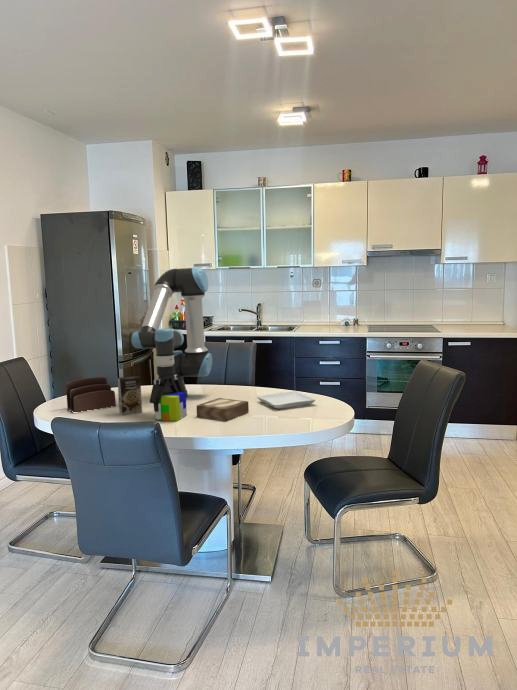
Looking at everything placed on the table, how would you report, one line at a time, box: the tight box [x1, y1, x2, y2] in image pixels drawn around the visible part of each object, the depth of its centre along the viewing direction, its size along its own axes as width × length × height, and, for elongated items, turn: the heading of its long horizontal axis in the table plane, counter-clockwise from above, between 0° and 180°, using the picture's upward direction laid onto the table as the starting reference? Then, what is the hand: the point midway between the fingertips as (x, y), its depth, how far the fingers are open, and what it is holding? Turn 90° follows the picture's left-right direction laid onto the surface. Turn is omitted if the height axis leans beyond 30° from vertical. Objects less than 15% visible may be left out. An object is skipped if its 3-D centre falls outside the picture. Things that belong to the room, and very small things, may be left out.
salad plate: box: [256, 390, 316, 410], centre depth 238 cm, size 21×21×3 cm
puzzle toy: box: [154, 392, 188, 422], centre depth 217 cm, size 10×10×10 cm
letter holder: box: [65, 376, 117, 413], centre depth 240 cm, size 10×20×14 cm, turn 128°
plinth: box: [196, 397, 250, 422], centre depth 221 cm, size 16×16×5 cm
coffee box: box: [117, 375, 143, 416], centre depth 229 cm, size 9×6×16 cm
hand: (168, 415), depth 218 cm, fingers closed on puzzle toy, 11 cm apart
